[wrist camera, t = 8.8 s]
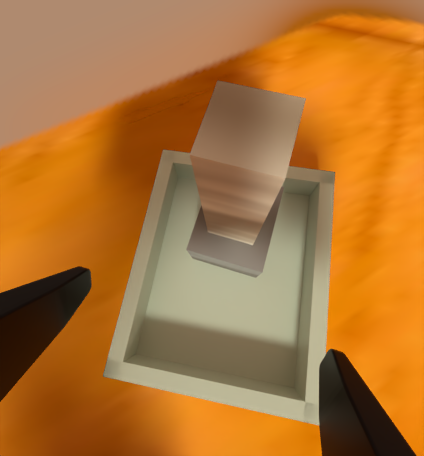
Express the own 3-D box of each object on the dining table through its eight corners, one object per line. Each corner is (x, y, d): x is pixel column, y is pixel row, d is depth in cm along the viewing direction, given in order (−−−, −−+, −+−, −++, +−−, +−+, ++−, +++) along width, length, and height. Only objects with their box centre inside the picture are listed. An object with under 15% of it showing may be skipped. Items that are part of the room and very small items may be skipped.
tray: (305, 405, 17) (321, 426, 14) (122, 364, 18) (102, 376, 15) (320, 189, 21) (335, 171, 18) (171, 169, 23) (163, 149, 20)
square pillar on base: (255, 277, 19) (309, 234, 7) (192, 258, 20) (142, 189, 8) (274, 205, 20) (344, 69, 8) (215, 190, 21) (203, 42, 9)
